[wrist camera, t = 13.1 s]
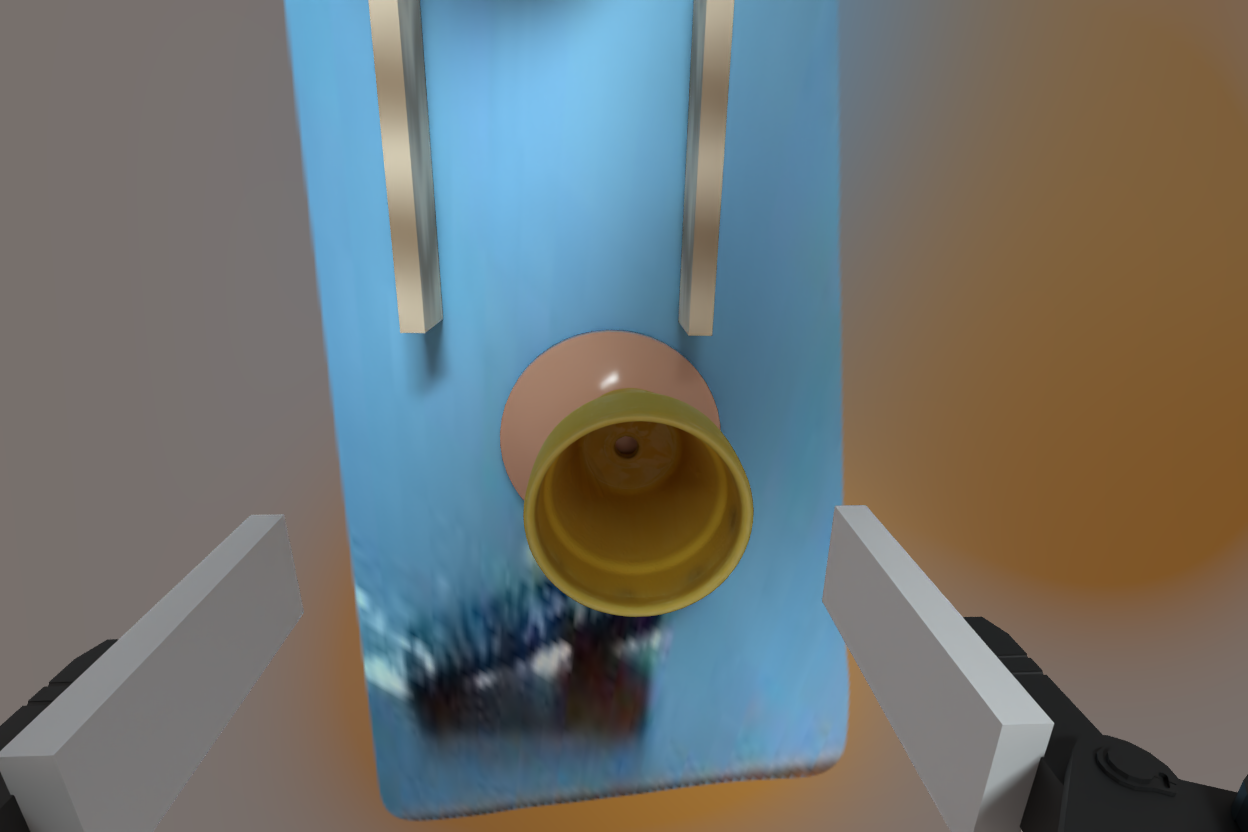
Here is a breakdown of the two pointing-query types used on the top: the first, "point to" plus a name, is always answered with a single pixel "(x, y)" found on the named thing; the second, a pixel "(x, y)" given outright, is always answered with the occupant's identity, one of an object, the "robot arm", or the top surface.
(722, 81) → the slot cradle
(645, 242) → the top surface
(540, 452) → the plant pot
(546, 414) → the disc
